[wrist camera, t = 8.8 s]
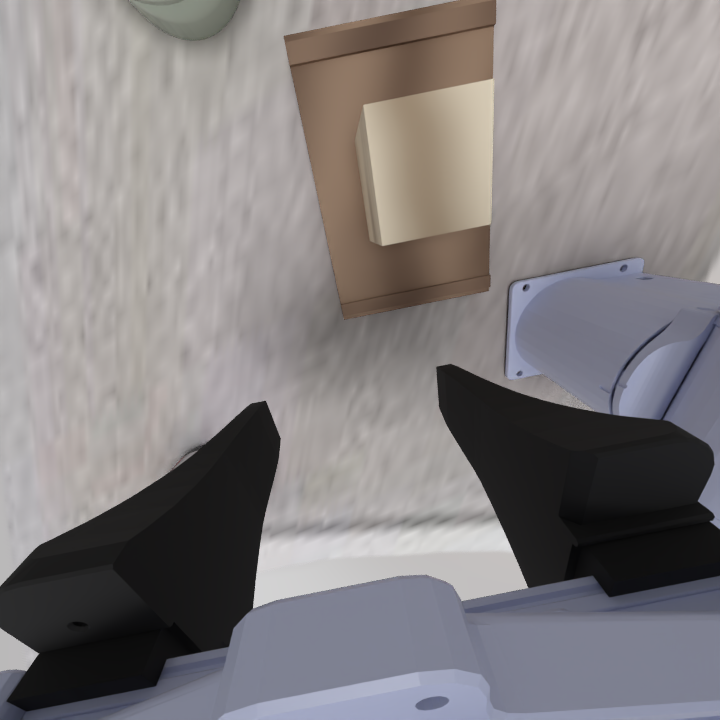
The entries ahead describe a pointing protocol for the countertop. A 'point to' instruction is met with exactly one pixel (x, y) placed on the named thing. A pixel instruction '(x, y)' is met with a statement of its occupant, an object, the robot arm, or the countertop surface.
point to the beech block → (427, 162)
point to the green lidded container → (187, 16)
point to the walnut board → (338, 152)
